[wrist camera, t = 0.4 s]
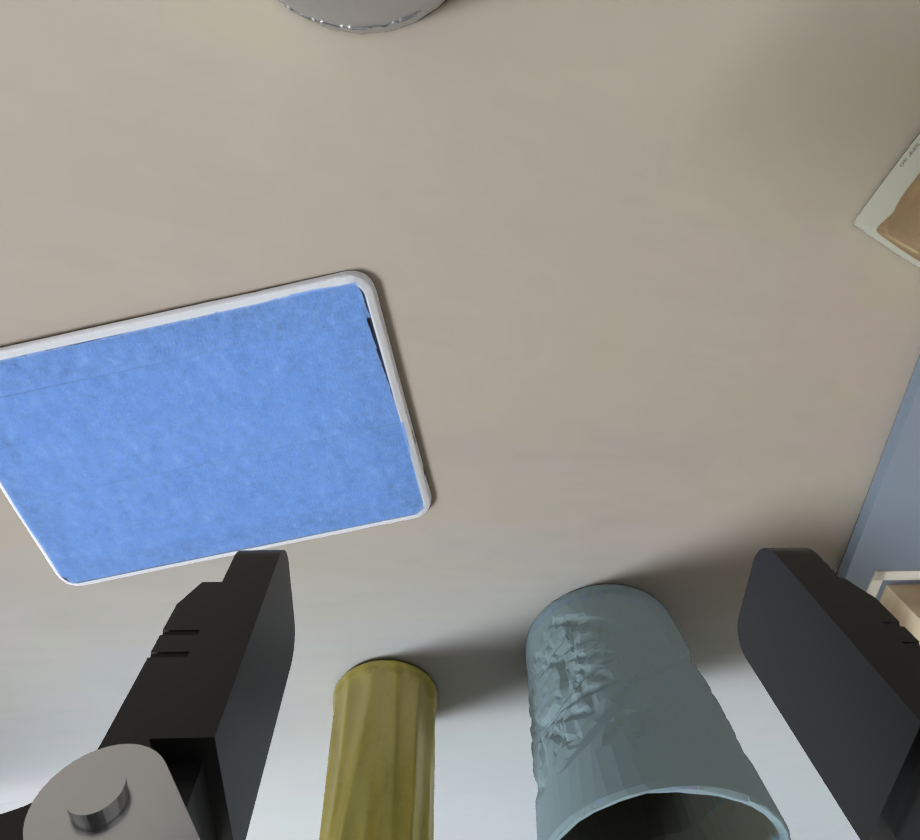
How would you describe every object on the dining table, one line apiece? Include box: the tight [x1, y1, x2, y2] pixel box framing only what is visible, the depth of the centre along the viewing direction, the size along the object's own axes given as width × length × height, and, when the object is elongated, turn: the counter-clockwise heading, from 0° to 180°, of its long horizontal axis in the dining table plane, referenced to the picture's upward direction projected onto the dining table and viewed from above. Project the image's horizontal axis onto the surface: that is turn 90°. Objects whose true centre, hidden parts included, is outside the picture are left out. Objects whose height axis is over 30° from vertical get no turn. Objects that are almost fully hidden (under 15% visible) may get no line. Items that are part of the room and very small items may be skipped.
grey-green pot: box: [526, 584, 791, 840], centre depth 30 cm, size 10×10×12 cm
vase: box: [319, 660, 438, 840], centre depth 30 cm, size 6×6×14 cm
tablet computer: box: [0, 271, 432, 586], centre depth 29 cm, size 19×13×1 cm, turn 102°
